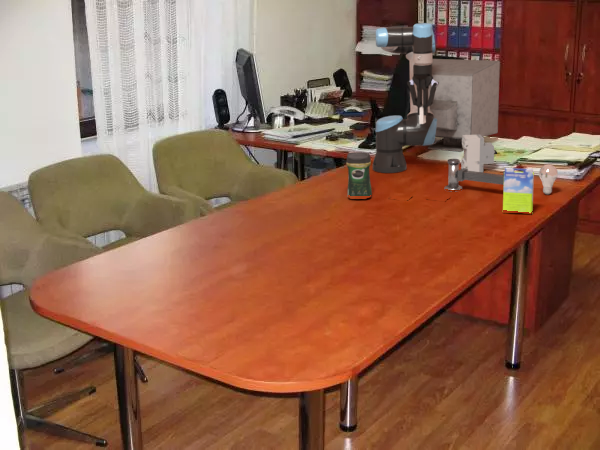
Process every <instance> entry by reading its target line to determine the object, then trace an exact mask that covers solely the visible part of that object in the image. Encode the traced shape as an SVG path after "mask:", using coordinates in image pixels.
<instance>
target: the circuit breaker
mask: <svg viewBox="0 0 600 450" xmlns="http://www.w3.org/2000/svg"><path fill="white" fill-rule="evenodd" d="M462 136H463V137H462V146H463V149H464V150H463V157H462V158H461V160H460V161H461V162H460V163H461V168H460V170H461V169H463V168H466V169H468V171H475V172H483V173H484V165H485V164H486V165H487V164H488V165H489V164H494V163H495V155H497V154H498V151H497V149H495V145H494V144H493V143H492V142H485V137H482V136H481V134H480V135H462Z"/></svg>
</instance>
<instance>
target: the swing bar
mask: <svg viewBox="0 0 600 450" xmlns="http://www.w3.org/2000/svg"><path fill="white" fill-rule="evenodd" d="M504 172H505V170H503V171H502V173H503V174H499V173H489V172H484V171H483V172H475V171H468V169H466V168H463V169H461V168H460V169H459V171H458V182H464V181H471V182H472V181H473V182H480V183H488V184H494V185H501V186H502V185H503V186H504Z"/></svg>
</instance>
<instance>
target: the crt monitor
mask: <svg viewBox="0 0 600 450" xmlns="http://www.w3.org/2000/svg"><path fill="white" fill-rule="evenodd" d="M432 61H433V62H432V63H431V64H432V76H433V80H434V81H436V82H439V84H438V86H437V87H436V91H435V96H434V100H433V104H432V105H431V106H430V111H431V112H432V113H433V114H434V118H436V119H437V127H436V135H435V138H441V139H439V140H437V141H436V142H434V143H433V144H432V145H428V147H427V149H429V150H434V151H435V150H436V151H447V152H459V153H462V152H464V149H463V146H462V137H463V136H462V135H480V134H481V136H482V137H483V138H485V137H487V136H491V135H494V134H498V130H499V103H500V102H499V97H500V95H499V94H500V70H501V69H500V67H501V63H500V60H484V59H482V60H481V59H452V58H451V59H447V58H446V59H445V58H432ZM431 84H432V82H431ZM431 84H430V85H429V89H430V91H431V87H432V85H431Z"/></svg>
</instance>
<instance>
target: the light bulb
mask: <svg viewBox="0 0 600 450" xmlns="http://www.w3.org/2000/svg"><path fill="white" fill-rule="evenodd" d="M558 175H559V172H558V169H557V167H556V166H554V165H553V164H545V165H542V166H541V168H540V169H539V172H538V177H539V179H540V180H541V183H542V186H543V188H542V192H543V194H545V195H547V196H548V195H549V196H550V194H551V193H553V186H554V183H555V181H556V180H557V178H558Z"/></svg>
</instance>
